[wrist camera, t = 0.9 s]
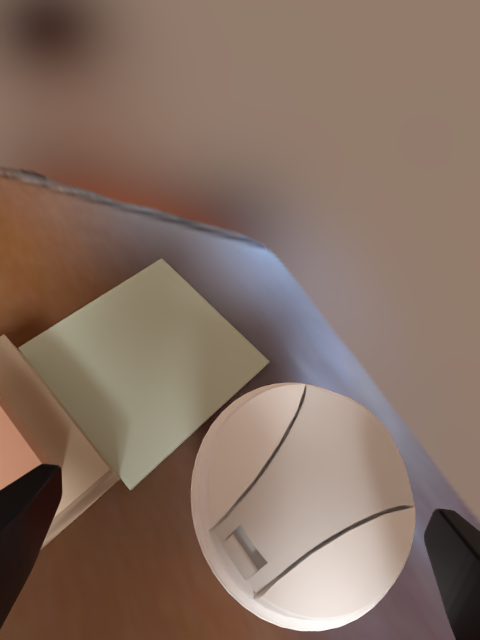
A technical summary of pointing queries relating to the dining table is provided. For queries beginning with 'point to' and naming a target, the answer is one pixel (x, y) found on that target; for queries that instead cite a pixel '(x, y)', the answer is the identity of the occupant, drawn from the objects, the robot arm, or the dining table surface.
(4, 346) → the birch step
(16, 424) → the pink block
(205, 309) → the rubber mat
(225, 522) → the paper cup
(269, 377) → the dining table surface
